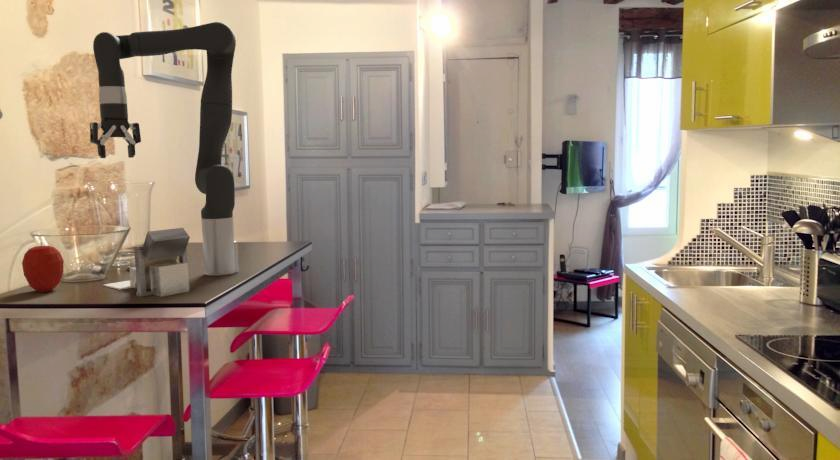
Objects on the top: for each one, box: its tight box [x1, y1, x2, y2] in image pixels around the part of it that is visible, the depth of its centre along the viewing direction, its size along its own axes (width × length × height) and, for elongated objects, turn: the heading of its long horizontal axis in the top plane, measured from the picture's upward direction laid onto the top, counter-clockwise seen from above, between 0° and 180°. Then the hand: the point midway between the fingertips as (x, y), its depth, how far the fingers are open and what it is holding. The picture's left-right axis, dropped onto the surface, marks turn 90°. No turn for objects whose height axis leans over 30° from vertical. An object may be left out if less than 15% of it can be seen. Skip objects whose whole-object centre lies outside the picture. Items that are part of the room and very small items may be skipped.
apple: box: [21, 243, 65, 293], centre depth 193 cm, size 10×10×14 cm
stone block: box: [129, 267, 151, 290], centre depth 195 cm, size 5×5×7 cm
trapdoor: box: [133, 227, 191, 289], centre depth 188 cm, size 19×11×4 cm
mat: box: [102, 279, 135, 291], centre depth 200 cm, size 12×10×1 cm
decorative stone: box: [129, 258, 135, 269], centre depth 229 cm, size 6×16×3 cm, turn 23°
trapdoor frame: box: [133, 245, 192, 298], centre depth 186 cm, size 8×14×13 cm, turn 138°
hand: (117, 157), depth 209 cm, fingers open, 8 cm apart
